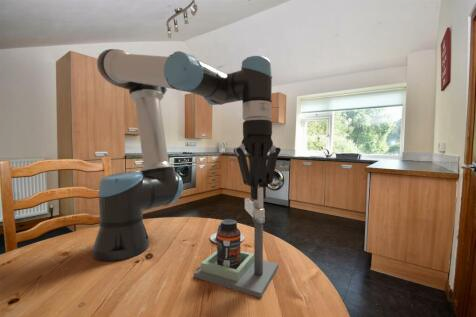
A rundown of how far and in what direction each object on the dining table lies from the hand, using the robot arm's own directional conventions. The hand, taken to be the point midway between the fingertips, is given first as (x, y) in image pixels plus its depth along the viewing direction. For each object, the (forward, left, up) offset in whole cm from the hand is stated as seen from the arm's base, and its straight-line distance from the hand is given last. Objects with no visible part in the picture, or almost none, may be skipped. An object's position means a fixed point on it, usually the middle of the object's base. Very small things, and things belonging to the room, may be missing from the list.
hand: (258, 211), depth 56 cm
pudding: (-16, +13, -15) cm, 26 cm away
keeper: (-1, -1, -1) cm, 2 cm away
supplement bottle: (-6, -5, -14) cm, 16 cm away
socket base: (-3, -5, -14) cm, 15 cm away
